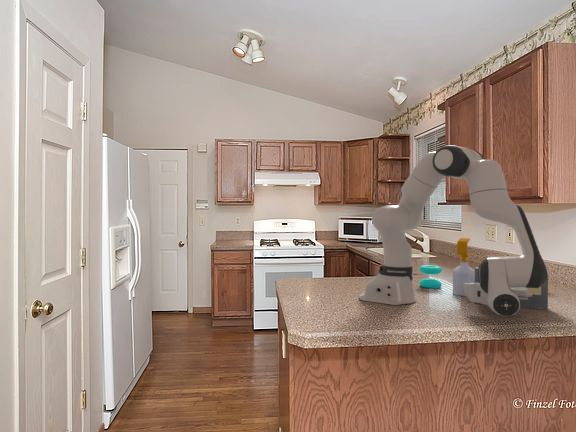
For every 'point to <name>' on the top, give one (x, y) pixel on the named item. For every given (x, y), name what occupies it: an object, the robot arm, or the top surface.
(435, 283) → the donuts
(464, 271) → the soap bottle
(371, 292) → the robot arm
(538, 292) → the button right
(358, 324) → the top surface
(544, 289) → the panel
